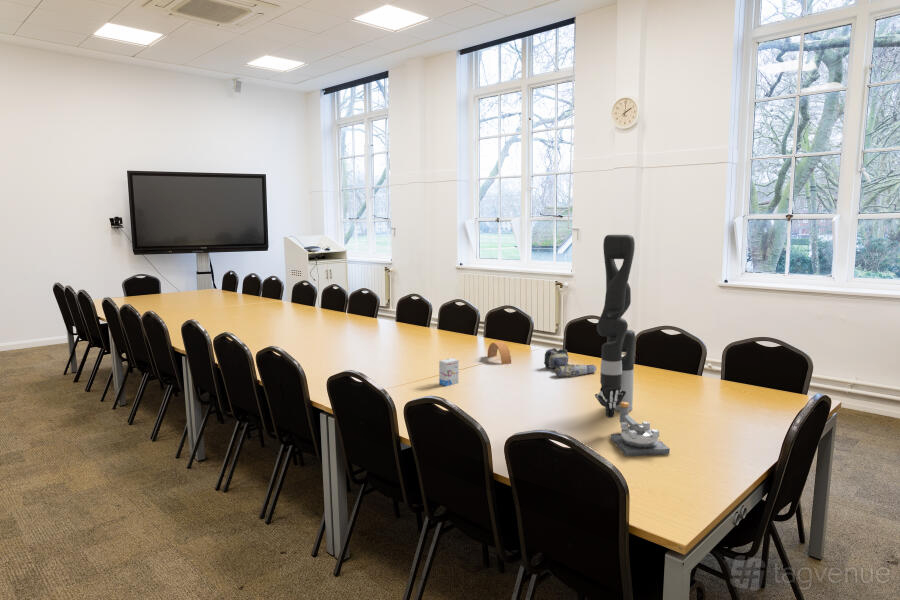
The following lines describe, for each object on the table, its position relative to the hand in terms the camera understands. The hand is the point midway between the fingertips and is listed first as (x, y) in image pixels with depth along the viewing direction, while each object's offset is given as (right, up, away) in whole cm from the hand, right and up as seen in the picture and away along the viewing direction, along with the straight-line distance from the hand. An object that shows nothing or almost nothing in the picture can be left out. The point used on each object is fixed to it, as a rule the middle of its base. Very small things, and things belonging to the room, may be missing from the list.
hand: (610, 417), depth 214 cm
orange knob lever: (+6, -5, -8) cm, 11 cm away
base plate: (+7, -8, -13) cm, 16 cm away
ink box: (-59, +2, +67) cm, 89 cm away
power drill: (+1, +6, +85) cm, 85 cm away
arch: (-31, +9, +112) cm, 117 cm away
